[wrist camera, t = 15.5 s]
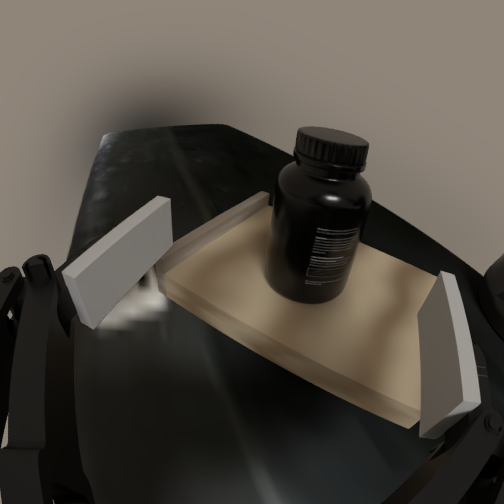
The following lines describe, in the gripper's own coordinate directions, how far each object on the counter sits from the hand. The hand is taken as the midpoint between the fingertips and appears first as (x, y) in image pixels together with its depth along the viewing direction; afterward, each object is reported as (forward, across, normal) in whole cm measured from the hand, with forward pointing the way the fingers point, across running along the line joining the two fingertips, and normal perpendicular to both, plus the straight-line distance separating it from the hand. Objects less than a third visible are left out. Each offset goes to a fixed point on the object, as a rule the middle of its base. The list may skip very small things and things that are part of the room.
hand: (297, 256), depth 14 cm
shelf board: (+9, +2, -11) cm, 14 cm away
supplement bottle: (+9, 0, -8) cm, 12 cm away
